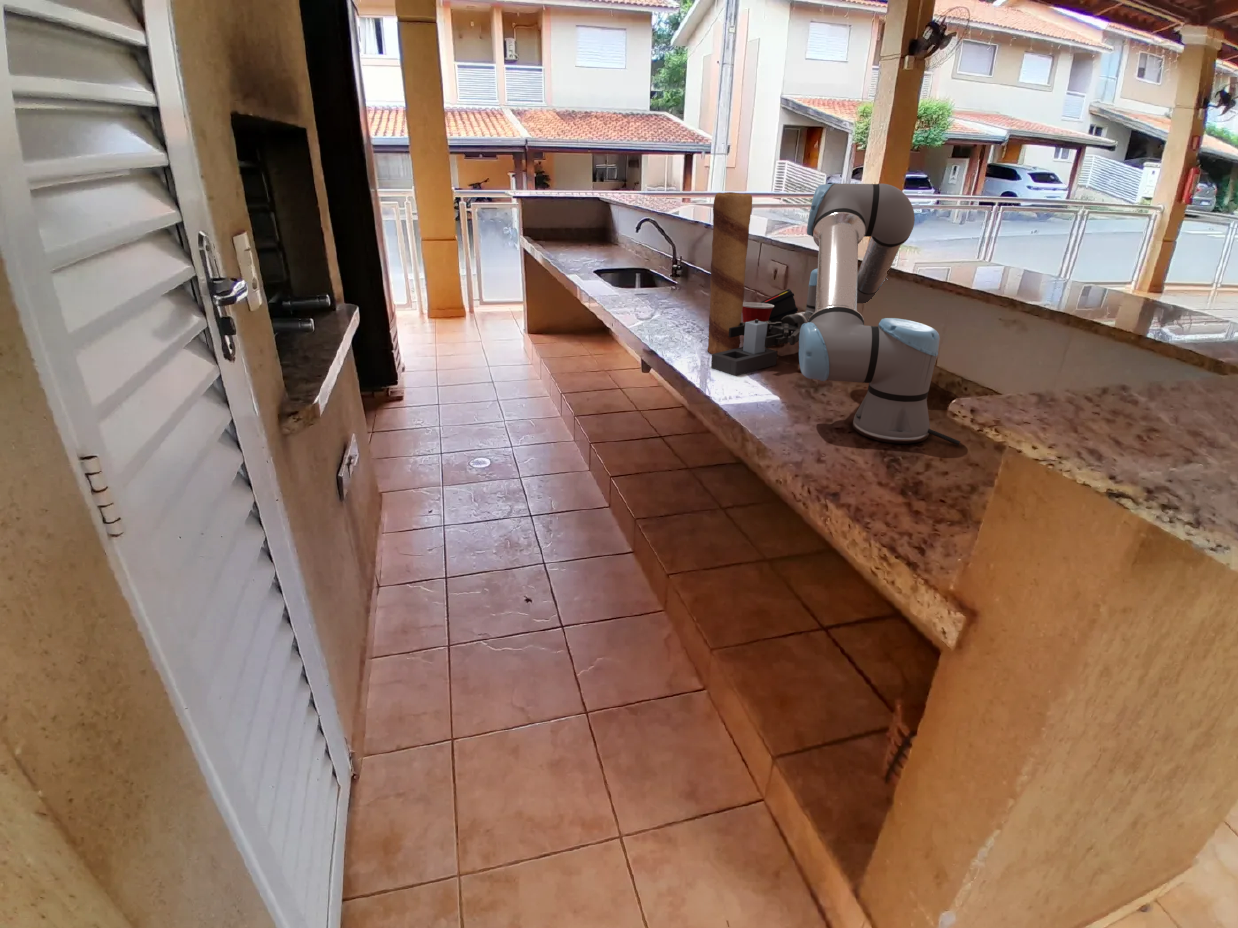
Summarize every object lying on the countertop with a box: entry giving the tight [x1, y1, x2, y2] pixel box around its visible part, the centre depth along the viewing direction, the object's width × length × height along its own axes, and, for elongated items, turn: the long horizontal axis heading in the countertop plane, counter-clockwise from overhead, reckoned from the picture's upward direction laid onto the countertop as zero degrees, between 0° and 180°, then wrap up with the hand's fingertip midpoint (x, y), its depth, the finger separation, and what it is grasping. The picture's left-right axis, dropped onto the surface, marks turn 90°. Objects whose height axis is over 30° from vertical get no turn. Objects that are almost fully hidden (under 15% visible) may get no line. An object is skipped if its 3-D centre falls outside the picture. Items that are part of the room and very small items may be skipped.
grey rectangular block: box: [742, 319, 768, 354], centre depth 175 cm, size 4×4×13 cm
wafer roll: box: [707, 191, 753, 355], centre depth 180 cm, size 10×11×45 cm
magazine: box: [758, 288, 799, 337], centre depth 205 cm, size 4×13×15 cm, turn 88°
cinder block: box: [710, 346, 778, 376], centre depth 175 cm, size 9×17×4 cm, turn 126°
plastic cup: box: [741, 301, 774, 323], centre depth 199 cm, size 11×11×12 cm
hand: (747, 337), depth 173 cm, fingers open, 13 cm apart
